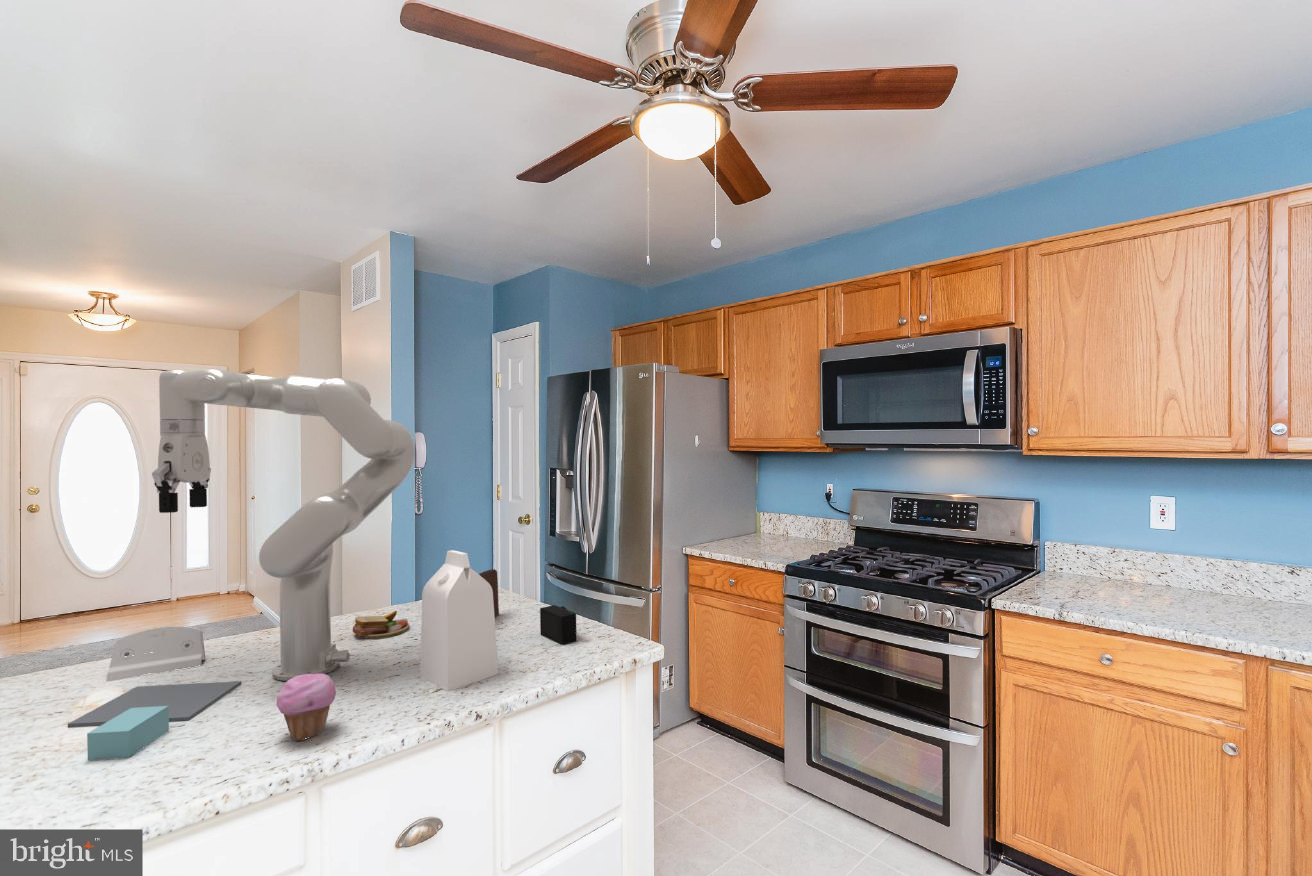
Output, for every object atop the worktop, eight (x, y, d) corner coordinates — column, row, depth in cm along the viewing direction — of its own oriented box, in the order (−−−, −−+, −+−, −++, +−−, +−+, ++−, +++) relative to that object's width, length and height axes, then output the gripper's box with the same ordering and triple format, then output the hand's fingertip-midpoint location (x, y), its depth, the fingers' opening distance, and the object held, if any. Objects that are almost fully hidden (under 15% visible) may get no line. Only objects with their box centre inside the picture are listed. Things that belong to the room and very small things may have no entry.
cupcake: (271, 734, 102) (270, 675, 102) (327, 717, 108) (326, 661, 108) (285, 753, 96) (284, 690, 96) (343, 733, 102) (342, 675, 102)
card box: (169, 731, 104) (168, 705, 104) (128, 759, 95) (128, 731, 95) (131, 734, 104) (131, 708, 104) (87, 761, 95) (87, 733, 95)
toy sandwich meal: (412, 634, 154) (412, 616, 154) (353, 644, 148) (353, 625, 148) (406, 622, 165) (406, 605, 165) (351, 630, 159) (351, 612, 159)
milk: (498, 674, 127) (496, 551, 127) (447, 691, 119) (445, 560, 119) (469, 660, 135) (467, 545, 135) (419, 675, 127) (417, 552, 127)
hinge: (104, 682, 126) (108, 632, 129) (110, 682, 130) (114, 634, 133) (202, 666, 134) (204, 620, 137) (206, 666, 138) (208, 622, 141)
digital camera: (581, 640, 148) (580, 612, 147) (562, 645, 144) (561, 616, 144) (558, 630, 155) (558, 603, 155) (540, 635, 152) (540, 607, 152)
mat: (241, 684, 124) (241, 681, 124) (188, 720, 108) (188, 717, 108) (137, 689, 122) (137, 686, 122) (67, 727, 106) (67, 723, 106)
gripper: (175, 428, 119) (176, 514, 119) (225, 429, 136) (226, 504, 136) (133, 428, 118) (134, 515, 118) (189, 429, 135) (190, 505, 135)
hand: (184, 509), depth 127 cm, fingers open, 9 cm apart
